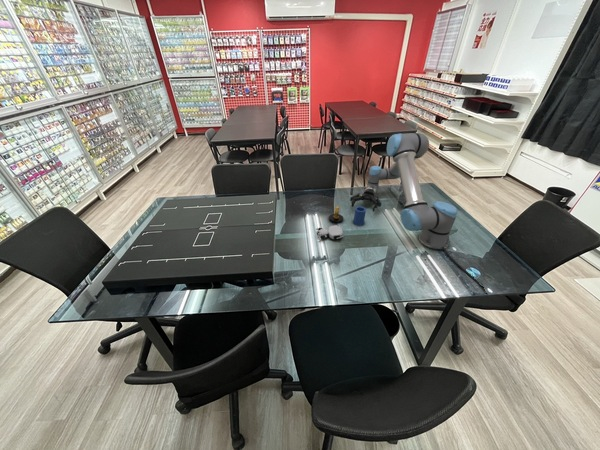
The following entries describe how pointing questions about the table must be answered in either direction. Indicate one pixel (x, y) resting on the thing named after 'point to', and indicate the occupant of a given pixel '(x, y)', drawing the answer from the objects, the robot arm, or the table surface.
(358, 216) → the blue sleeve
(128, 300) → the table surface
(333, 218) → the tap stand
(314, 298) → the table surface
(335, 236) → the robot toy
